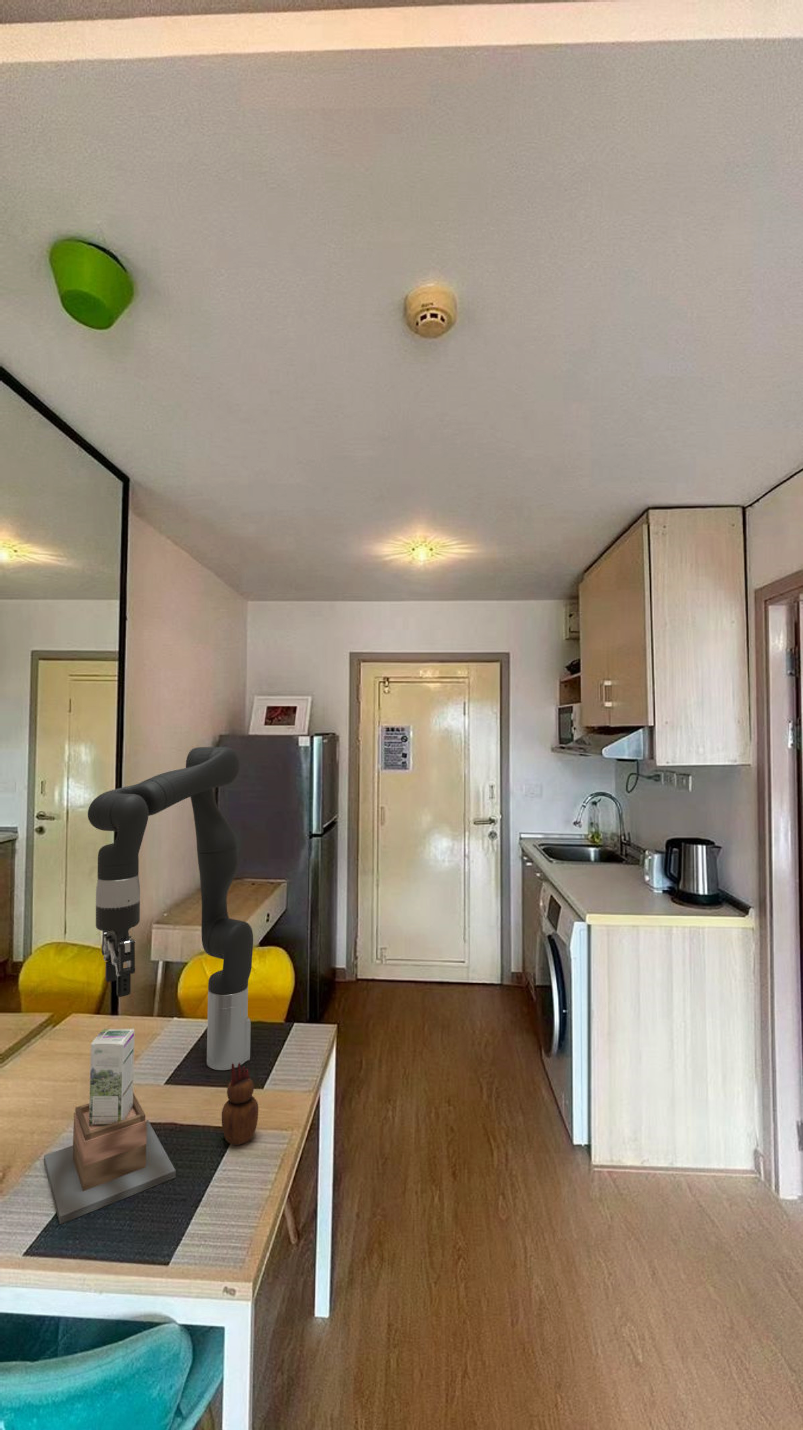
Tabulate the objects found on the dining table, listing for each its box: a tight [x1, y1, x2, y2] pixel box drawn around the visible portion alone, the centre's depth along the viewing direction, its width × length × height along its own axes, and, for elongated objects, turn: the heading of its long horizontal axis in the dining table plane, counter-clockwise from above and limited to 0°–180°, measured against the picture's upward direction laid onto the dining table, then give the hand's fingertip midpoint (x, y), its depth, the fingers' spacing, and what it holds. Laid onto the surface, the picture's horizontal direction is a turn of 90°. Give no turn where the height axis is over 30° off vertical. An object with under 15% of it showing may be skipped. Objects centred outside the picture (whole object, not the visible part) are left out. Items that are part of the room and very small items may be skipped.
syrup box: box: [88, 1028, 135, 1126], centre depth 112 cm, size 6×6×14 cm
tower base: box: [43, 1092, 177, 1225], centre depth 112 cm, size 18×18×10 cm
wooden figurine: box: [221, 1063, 259, 1146], centre depth 120 cm, size 7×6×15 cm
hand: (117, 987), depth 117 cm, fingers open, 8 cm apart
